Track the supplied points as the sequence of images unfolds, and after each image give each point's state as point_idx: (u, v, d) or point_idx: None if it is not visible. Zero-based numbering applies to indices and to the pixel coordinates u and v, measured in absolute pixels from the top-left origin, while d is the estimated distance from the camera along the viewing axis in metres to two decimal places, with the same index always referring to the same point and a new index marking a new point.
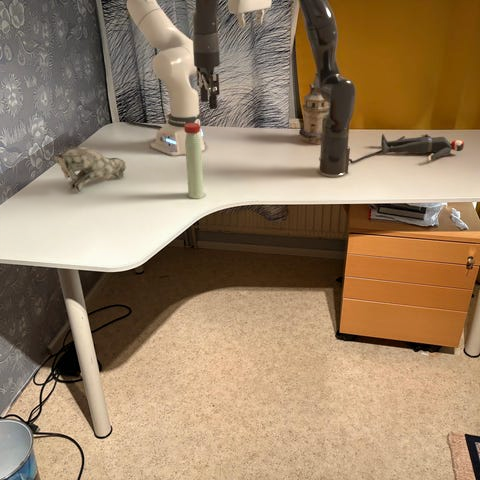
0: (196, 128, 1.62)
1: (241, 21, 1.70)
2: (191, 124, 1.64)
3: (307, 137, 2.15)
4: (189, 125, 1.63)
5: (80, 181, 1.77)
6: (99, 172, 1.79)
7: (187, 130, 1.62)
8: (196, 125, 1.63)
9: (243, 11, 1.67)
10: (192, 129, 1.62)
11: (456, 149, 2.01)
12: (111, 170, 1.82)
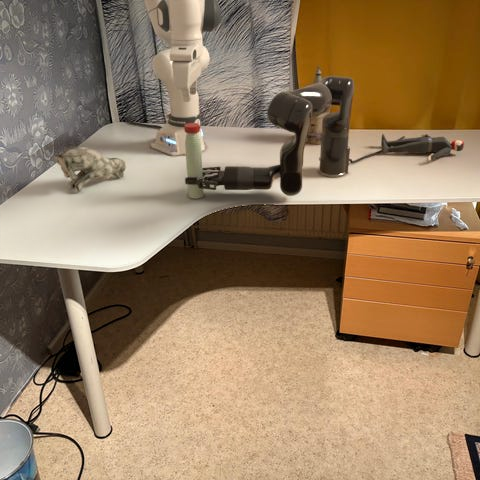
0: (196, 128, 1.62)
1: (186, 95, 1.54)
2: (191, 124, 1.64)
3: (307, 137, 2.15)
4: (189, 125, 1.63)
5: (80, 181, 1.77)
6: (99, 172, 1.79)
7: (187, 129, 1.62)
8: (196, 125, 1.63)
9: (190, 85, 1.51)
10: (192, 129, 1.62)
11: (456, 149, 2.01)
12: (111, 170, 1.82)
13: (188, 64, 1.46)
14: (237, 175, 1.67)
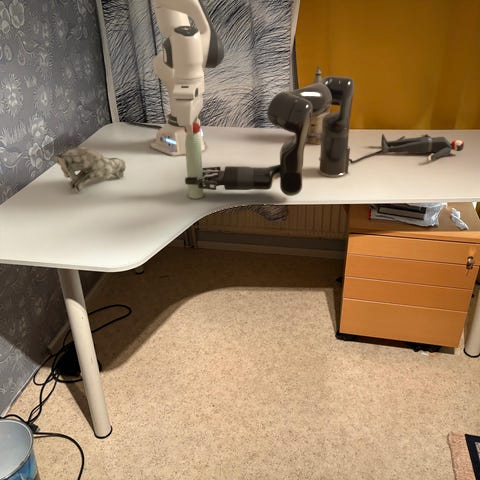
0: (196, 128, 1.62)
1: (189, 129, 1.60)
2: None
3: (307, 137, 2.15)
4: None
5: (80, 181, 1.77)
6: (99, 172, 1.79)
7: None
8: (196, 125, 1.63)
9: (192, 122, 1.56)
10: None
11: (456, 149, 2.01)
12: (111, 170, 1.82)
13: (190, 102, 1.51)
14: (237, 175, 1.67)
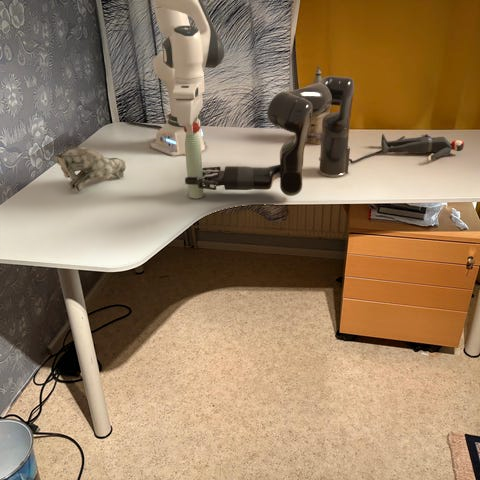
0: None
1: (190, 128, 1.60)
2: None
3: (307, 137, 2.15)
4: None
5: (80, 181, 1.77)
6: (99, 172, 1.79)
7: (196, 129, 1.62)
8: (194, 123, 1.64)
9: (192, 121, 1.56)
10: (198, 127, 1.63)
11: (456, 149, 2.01)
12: (111, 170, 1.82)
13: (191, 102, 1.51)
14: (237, 175, 1.67)
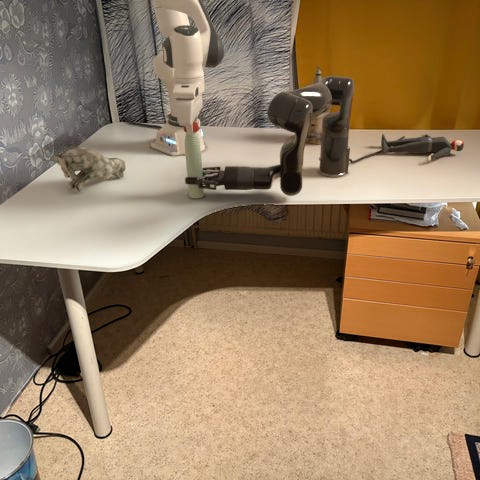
0: None
1: (190, 128, 1.60)
2: None
3: (307, 137, 2.15)
4: (193, 124, 1.63)
5: (80, 181, 1.77)
6: (99, 172, 1.79)
7: None
8: None
9: (192, 121, 1.56)
10: None
11: (456, 149, 2.01)
12: (111, 170, 1.82)
13: (191, 102, 1.51)
14: (237, 174, 1.67)
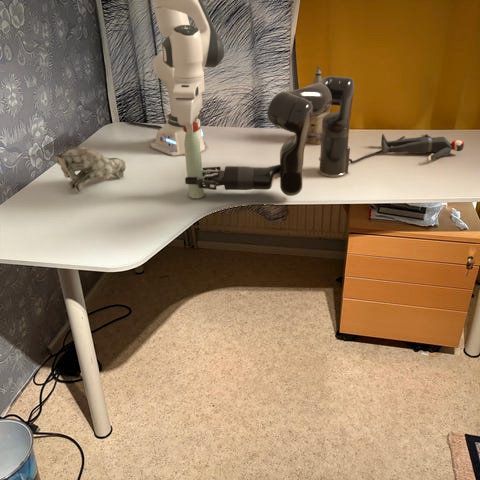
0: None
1: (190, 128, 1.60)
2: None
3: (307, 137, 2.15)
4: None
5: (80, 181, 1.77)
6: (99, 172, 1.79)
7: None
8: None
9: (192, 121, 1.56)
10: None
11: (456, 149, 2.01)
12: (111, 170, 1.82)
13: (191, 101, 1.51)
14: (237, 174, 1.67)
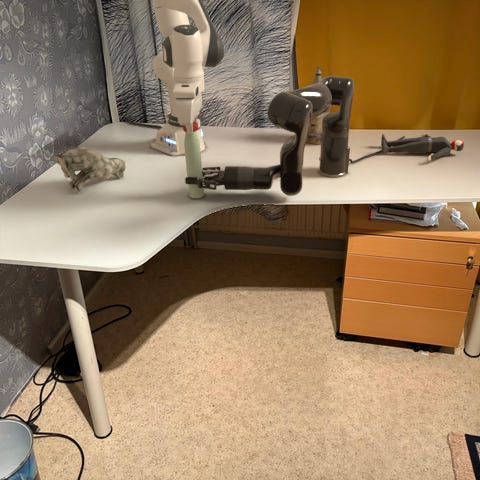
0: (185, 127, 1.62)
1: (190, 128, 1.60)
2: None
3: (307, 137, 2.15)
4: None
5: (80, 181, 1.77)
6: (99, 172, 1.79)
7: None
8: None
9: (192, 121, 1.56)
10: (183, 127, 1.63)
11: (456, 149, 2.01)
12: (111, 170, 1.82)
13: (191, 101, 1.51)
14: (237, 174, 1.67)
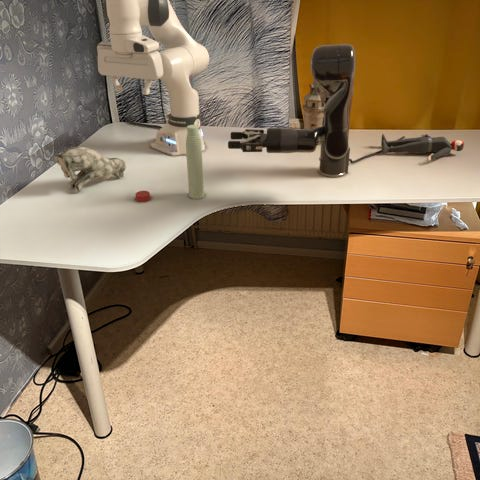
0: (149, 193, 1.73)
1: (148, 87, 1.54)
2: (140, 193, 1.72)
3: None
4: (142, 194, 1.71)
5: (80, 181, 1.77)
6: (99, 172, 1.79)
7: (146, 198, 1.71)
8: (146, 191, 1.73)
9: None
10: (149, 195, 1.72)
11: (456, 149, 2.01)
12: (111, 170, 1.82)
13: (158, 52, 1.50)
14: (281, 136, 1.60)
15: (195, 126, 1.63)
